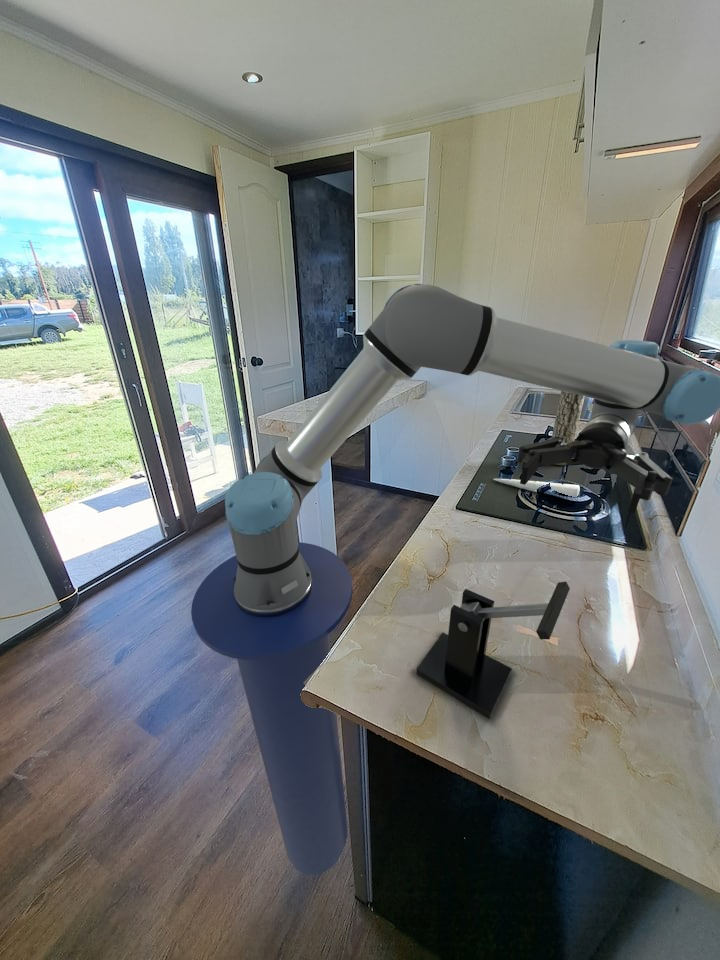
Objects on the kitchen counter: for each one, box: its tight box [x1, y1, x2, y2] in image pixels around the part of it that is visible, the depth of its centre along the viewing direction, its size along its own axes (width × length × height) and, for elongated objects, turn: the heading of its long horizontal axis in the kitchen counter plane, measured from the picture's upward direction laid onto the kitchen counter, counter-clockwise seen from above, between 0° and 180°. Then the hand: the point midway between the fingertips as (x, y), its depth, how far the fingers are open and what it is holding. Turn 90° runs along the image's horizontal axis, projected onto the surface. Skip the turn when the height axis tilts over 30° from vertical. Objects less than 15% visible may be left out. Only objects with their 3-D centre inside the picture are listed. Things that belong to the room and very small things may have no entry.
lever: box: [459, 581, 571, 640], centre depth 51 cm, size 14×10×2 cm
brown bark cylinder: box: [551, 391, 585, 466], centre depth 125 cm, size 7×7×25 cm
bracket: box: [415, 588, 513, 720], centre depth 58 cm, size 12×9×15 cm
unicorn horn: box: [492, 478, 581, 497], centre depth 113 cm, size 5×24×5 cm, turn 50°
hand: (575, 488), depth 52 cm, fingers open, 13 cm apart
